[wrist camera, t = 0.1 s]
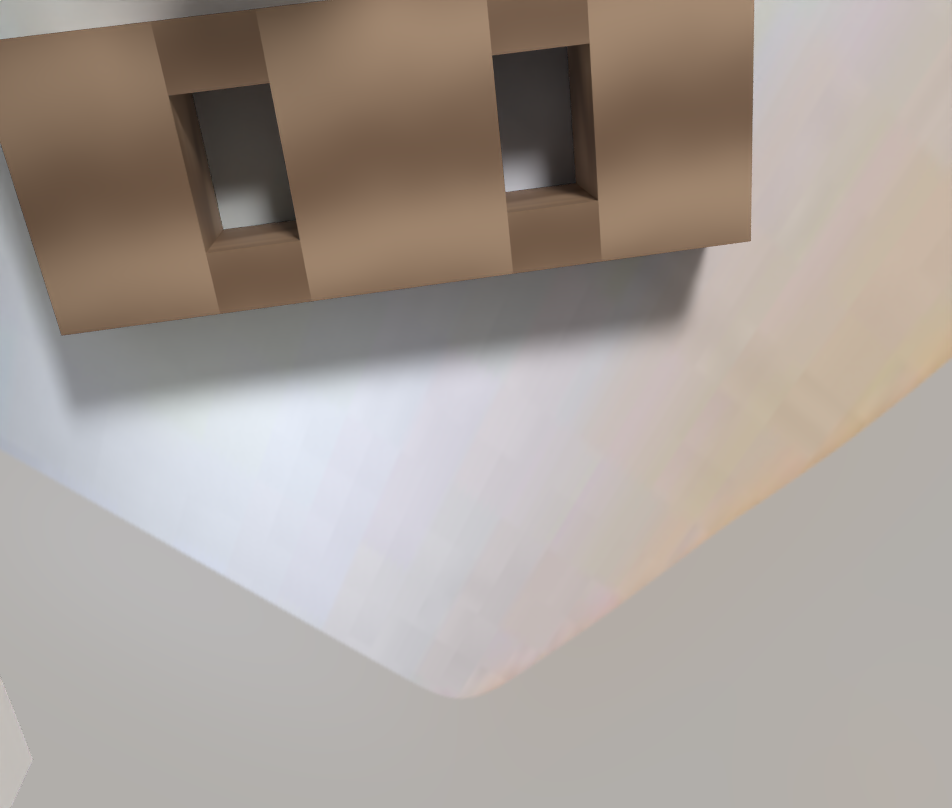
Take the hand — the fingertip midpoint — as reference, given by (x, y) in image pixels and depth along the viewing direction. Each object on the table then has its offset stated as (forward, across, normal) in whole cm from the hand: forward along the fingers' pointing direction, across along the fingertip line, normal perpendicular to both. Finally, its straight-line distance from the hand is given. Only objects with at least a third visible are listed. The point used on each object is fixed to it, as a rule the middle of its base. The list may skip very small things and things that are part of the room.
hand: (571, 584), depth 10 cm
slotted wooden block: (+28, -1, +2) cm, 28 cm away
